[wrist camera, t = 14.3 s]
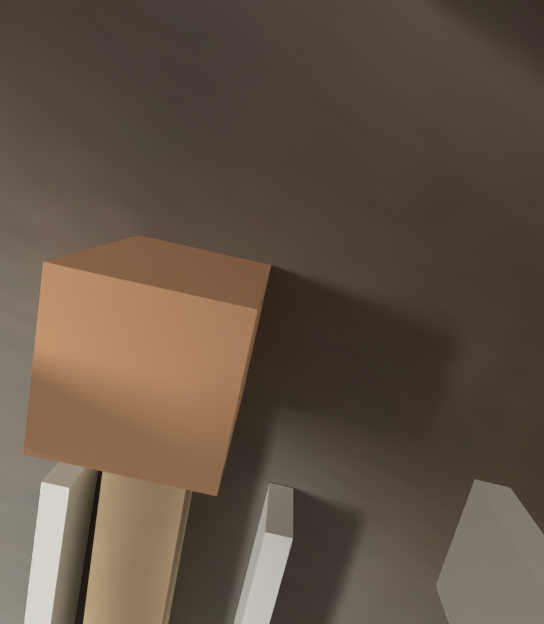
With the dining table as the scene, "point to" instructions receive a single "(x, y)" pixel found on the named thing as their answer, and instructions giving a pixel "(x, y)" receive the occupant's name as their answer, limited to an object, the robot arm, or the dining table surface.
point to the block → (143, 359)
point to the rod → (135, 551)
